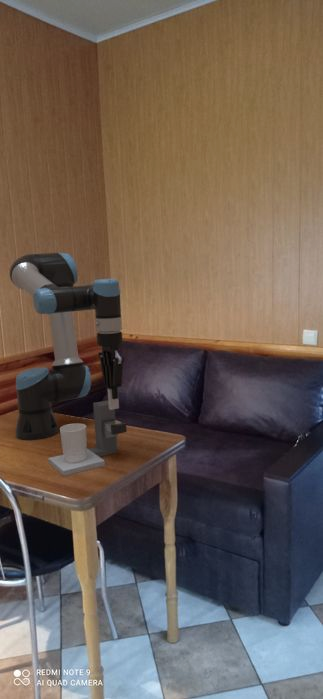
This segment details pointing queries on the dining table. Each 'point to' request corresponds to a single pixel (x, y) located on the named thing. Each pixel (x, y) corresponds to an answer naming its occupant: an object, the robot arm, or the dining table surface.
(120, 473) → the dining table surface
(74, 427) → the white cup
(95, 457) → the frame
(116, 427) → the handle
